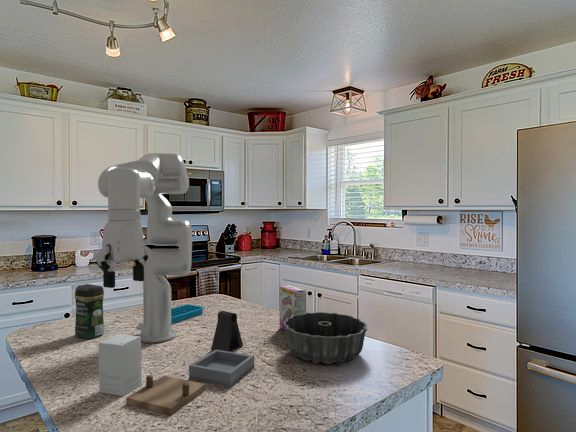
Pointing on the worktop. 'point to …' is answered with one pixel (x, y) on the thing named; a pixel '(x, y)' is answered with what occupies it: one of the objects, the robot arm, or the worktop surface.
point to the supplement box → (119, 364)
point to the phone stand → (227, 333)
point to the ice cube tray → (185, 312)
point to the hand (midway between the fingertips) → (124, 283)
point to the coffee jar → (89, 311)
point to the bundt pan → (325, 336)
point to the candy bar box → (291, 302)
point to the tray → (221, 367)
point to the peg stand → (165, 394)
